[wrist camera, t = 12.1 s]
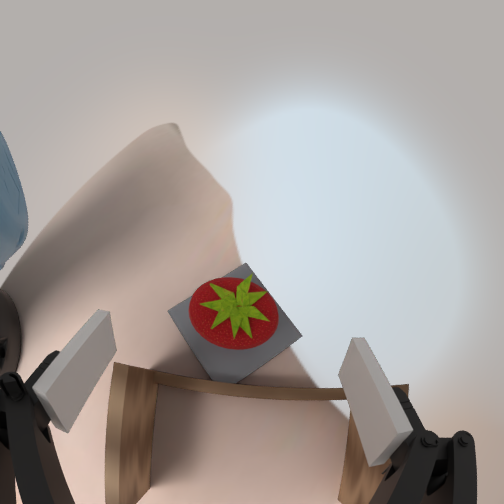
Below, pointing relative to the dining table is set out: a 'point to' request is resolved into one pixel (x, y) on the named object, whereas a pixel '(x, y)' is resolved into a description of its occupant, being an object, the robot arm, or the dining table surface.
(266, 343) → the pad
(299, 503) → the dining table surface
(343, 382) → the robot arm
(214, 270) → the dining table surface
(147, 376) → the wooden crossbar stand
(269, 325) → the strawberry
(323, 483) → the dining table surface
